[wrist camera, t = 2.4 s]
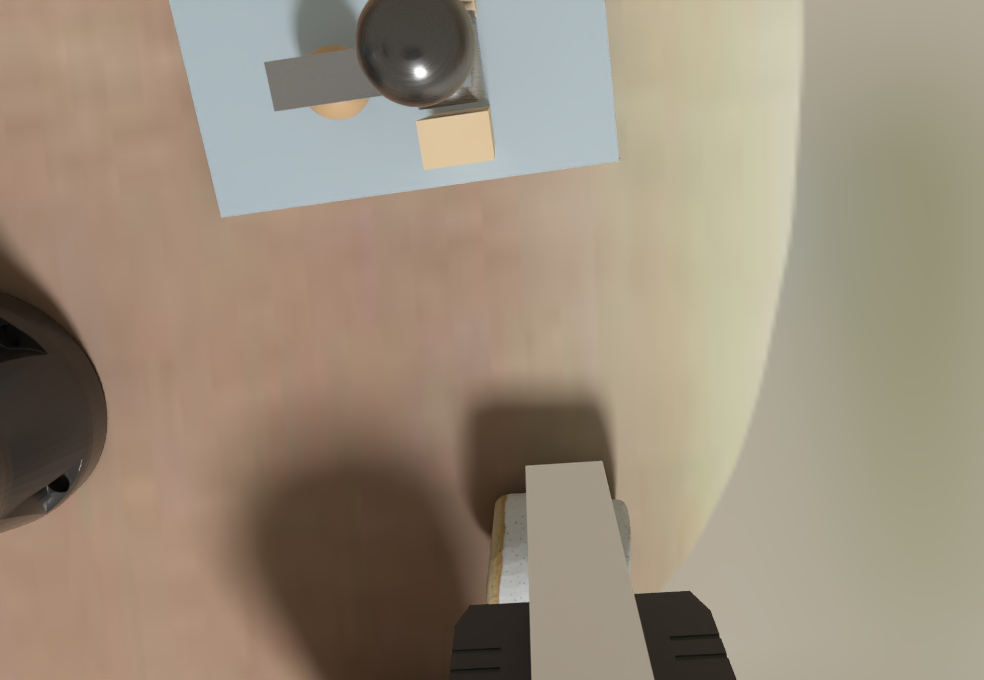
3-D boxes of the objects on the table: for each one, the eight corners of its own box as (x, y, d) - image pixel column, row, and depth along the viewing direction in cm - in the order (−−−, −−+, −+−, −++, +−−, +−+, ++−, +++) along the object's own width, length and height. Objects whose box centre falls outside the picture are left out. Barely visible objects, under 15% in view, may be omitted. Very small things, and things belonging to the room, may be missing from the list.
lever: (291, 128, 36) (133, 158, 21) (274, 44, 35) (93, 8, 20) (489, 99, 36) (484, 107, 20) (478, 13, 35) (463, -49, 19)
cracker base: (232, 212, 46) (145, 252, 35) (179, -13, 43) (63, -50, 31) (614, 158, 45) (654, 181, 34) (592, -77, 41) (628, -140, 30)
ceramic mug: (493, 469, 51) (492, 535, 44) (621, 477, 51) (641, 545, 44) (482, 609, 54) (480, 692, 47) (602, 617, 54) (618, 701, 47)
